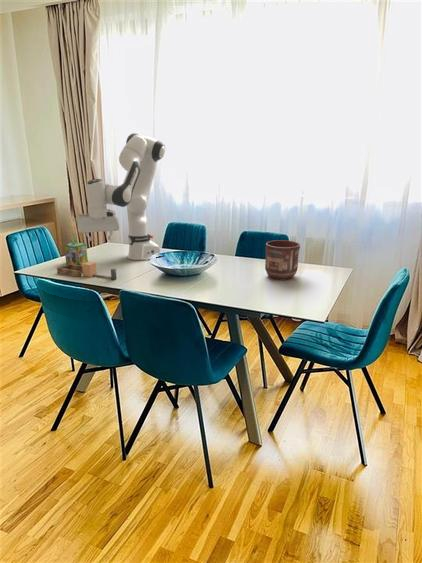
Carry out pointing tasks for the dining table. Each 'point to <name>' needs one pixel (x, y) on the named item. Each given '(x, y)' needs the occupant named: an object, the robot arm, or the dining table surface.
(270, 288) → the dining table surface
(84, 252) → the chalk box
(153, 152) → the robot arm
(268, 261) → the pottery
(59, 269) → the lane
